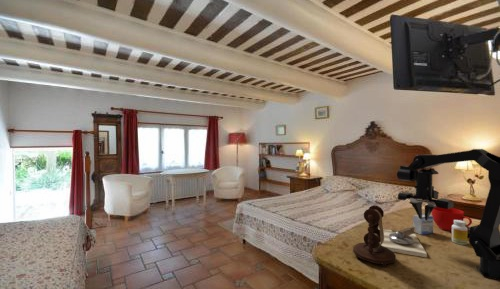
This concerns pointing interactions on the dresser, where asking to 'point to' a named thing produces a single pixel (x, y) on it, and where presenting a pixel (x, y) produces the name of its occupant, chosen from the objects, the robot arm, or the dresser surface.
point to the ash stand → (406, 249)
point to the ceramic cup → (448, 217)
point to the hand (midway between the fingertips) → (423, 219)
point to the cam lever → (403, 236)
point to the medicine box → (423, 224)
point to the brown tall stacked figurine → (374, 240)
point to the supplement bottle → (459, 232)
